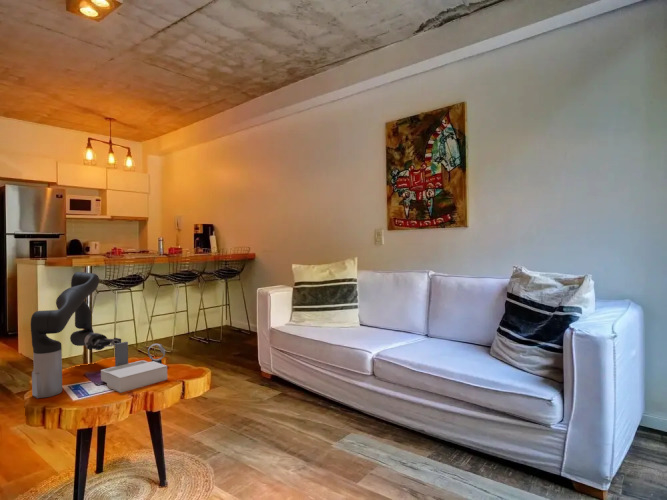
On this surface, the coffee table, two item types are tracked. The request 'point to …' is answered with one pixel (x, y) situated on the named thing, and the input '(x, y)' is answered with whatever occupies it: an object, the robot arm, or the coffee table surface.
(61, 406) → the coffee table surface
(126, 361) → the dark grey upright bracket
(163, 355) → the watch
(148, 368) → the light grey rectangular box
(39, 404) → the coffee table surface
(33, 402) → the coffee table surface
